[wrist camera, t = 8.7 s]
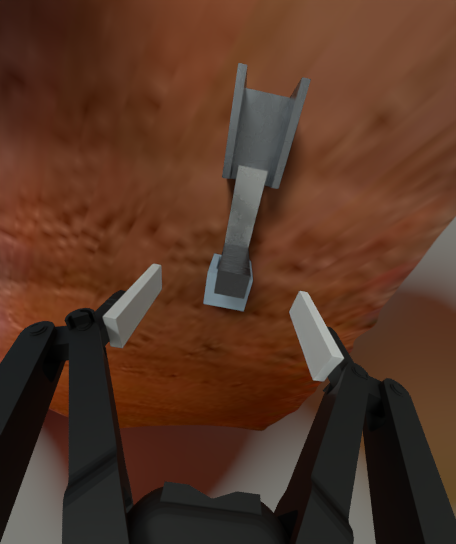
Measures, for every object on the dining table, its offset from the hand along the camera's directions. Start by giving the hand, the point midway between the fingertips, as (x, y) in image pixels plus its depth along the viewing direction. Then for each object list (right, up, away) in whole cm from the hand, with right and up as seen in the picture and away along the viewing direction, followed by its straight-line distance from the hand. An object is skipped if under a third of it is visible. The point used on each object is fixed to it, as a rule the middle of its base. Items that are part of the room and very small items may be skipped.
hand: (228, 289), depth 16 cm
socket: (0, +2, +15) cm, 16 cm away
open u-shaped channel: (+4, +18, +6) cm, 20 cm away
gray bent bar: (+2, +8, +10) cm, 13 cm away
